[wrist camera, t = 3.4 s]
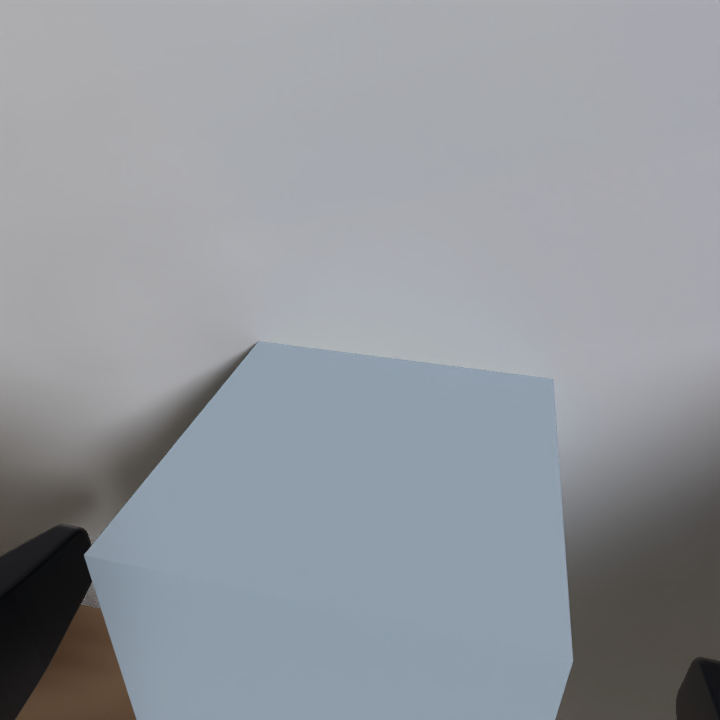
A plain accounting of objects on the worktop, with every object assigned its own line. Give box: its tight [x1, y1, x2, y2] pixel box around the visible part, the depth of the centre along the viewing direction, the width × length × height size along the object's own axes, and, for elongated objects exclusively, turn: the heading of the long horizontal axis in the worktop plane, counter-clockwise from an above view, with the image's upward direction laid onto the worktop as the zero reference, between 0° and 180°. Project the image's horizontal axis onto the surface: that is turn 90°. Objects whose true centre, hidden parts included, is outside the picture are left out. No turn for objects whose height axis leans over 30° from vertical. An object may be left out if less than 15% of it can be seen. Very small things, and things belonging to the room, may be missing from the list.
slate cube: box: [84, 341, 573, 720], centre depth 9 cm, size 5×5×5 cm
